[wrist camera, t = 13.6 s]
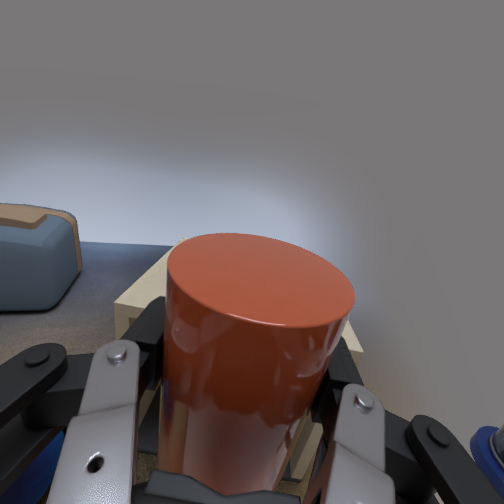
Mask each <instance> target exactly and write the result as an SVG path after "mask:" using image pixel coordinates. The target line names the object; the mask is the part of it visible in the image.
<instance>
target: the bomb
mask: <svg viewBox="0 0 504 504" xmlns="http://www.w3.org/2000/svg"><path fill="white" fill-rule="evenodd" d="M68 426H69V424H67V425H66V426H65V427H64V428H63V429H62V431H61V432H60V433H59V434H58V435H57V436H56V437H55V438H54V439H53V440H52V441H51V442H50V444H49V445H48V446H47V447H46V448H45V449H44V450H43V451H42V452H41V453H40V454H39V455H38V457H37V458H36V459H35V460H34V461H33V462H32V463H31V464H30V465H29V466H28V467H27V468H26V469H25V471H24V472H23V473H22V474H21V475H20V476H19V477H18V478H17V479H16V480H15V481H14V482H13V484H12V485H11V486H10V487H9V488H8V489H7V490H6V491H5V492H4V493H3V494H2V495H1V496H0V504H36V503H37V502H38V501H39V500H40V498H41V497H42V496H43V495H44V493H45V492H46V490H47V489H48V487H49V486H50V484H51V483H52V481H53V478H54V475H55V471H56V468H57V464H58V461H59V457H60V454H61V450H62V447H63V443H64V440H65V436H66V433H67V429H68Z"/></svg>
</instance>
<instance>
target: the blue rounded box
mask: <svg viewBox="0 0 504 504" xmlns="http://www.w3.org/2000/svg"><path fill="white" fill-rule="evenodd" d="M81 269H82V256H81V249H80V241H79V235H78V226H77V220H76V218H75V217H74V216H73V215H72V214H71V213H69V212H66V211H63V210H57V209H52V208H47V207H40V206H32V205H26V204H7V203H4V204H3V203H0V311H40V310H47V309H50V308H51V307H53V306H54V305H55V304H57V303H58V301H59V300H60V299H61V297H62V296H63V294H64V293H65V292H66V290H67V289H68V287H69V286H70V285H71V283H72V282H73V280H74V279H75V278H76V276H77V275H78V273H79V272H80V271H81Z"/></svg>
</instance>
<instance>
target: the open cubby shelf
mask: <svg viewBox="0 0 504 504" xmlns="http://www.w3.org/2000/svg"><path fill="white" fill-rule="evenodd" d="M186 240H188V239H186V238H182V239H181V240H180V241H179V242H178V243H177V244H176V245H175V246H174V247H173V248H171V249H170V250H169V251H168V252H167V253H166V254H165V255H164V256H163V257H162V258H161V259H160V260H159V261H158V262H156V263H155V264H154V265H153V266H152V267H151V268H150V269H149V270H148V271H147V272H146V273H145V274H144V275H143V276H142V277H140V278H139V279H138V280H137V281H136V282H135V283H134V284H133V285H132V286H131V287H130V288H129V289H128V290H127V291H125V292H124V293H123V294H122V295H121V296H120V297H119V298H118V299H117V300H116V301H115V302H114V314H115V340H120V338H121V337H122V336H123V335H124V333H125V332H126V331H127V330H128V328H129V327H130V326H131V325H132V324H133V322H134V321H135V320H136V319H137V317H138V316H140V314H141V313H142V311H143V310H145V308H146V306H147V305H148V304H149V303H150V302H151V301H152V300H154V299H156V298H157V297H159V296H164V297H165V292H166V272H167V260H168V257H169V255H170V253H171V251H172V250H173V249H174V248H175V247H176V246H177V245H179V244H180V243H182V242H184V241H186ZM342 337H343V338H344V339H345V341H346V343H347V346H348V348H349V349H348V350H349V351H350V353H351V355H352V358H353V360H354V363H355V365H356V367H357V365H358V362H359V360H360V358H361V357H362V355H363V350H362V348H361V346H360V344H359V342H358V340H357V338H356V336H355V334H354V331H353V329H352V327H351V325H350V323H349V321H348V320H347V323H346V325H345V328H344V330H343V332H342ZM160 390H161V379H160V381H159V383H158V385H157V387H156V389H155V391H150V390H145V392H144V394H143V396H142V398H141V400H140V408H139V431H138V451H140V452H145V453H150V454H155V455H157V449H158V429H159V409H160ZM322 433H323V428H322V424H319V423H314V422H312V419H311V413H310V412H309V414H308V416H307V419H306V421H305V424H304V426H303V428H302V431H301V433H300V436H299V438H298V440H297V443H296V445H295V448H294V450H293V452H292V455H291V457H290V460H289V462H288V464H287V467H286V469H285V472H284V474H283V476H282V479H283V480H288V481H294V482H299V483H300V482H301V479H302V478H303V476H304V473H305V471H306V469H307V467H308V465H309V463H310V461H311V459H312V457H313V455H314V453H315V451H316V449H317V447H318V445H319V441H320V438H321V435H322Z"/></svg>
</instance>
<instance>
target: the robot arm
mask: <svg viewBox="0 0 504 504" xmlns="http://www.w3.org/2000/svg"><path fill="white" fill-rule="evenodd" d="M164 311H165V297H164V296H159V297H157V298H156V299H154V300H152V301H151V302H150V303H149V304H148V305H147V306H146V308H145V310H143V311H142V313H141V314H140V316H138V317H137V319H136V320H135V321H134V322H133V324H132V325H131V326H130V327H129V328H128V330H127V331H126V332H125V333H124V335H123V336H122V337H121V338H120V340H115V341H112V342H109V343H107V344H105V345H103V346H102V347H100V348H99V349H98V350H97V351H96V353H91V354H79V355H67V353H66V349H65V348H64V347H63V346H62V345H60V344H56V343H45V344H40V345H36V346H33V347H30V348H28V349H26V350H24V351H22V352H21V353H19V354H17V355H16V356H14V357H13V358H11V359H10V360H8V361H7V362H5V363H4V364H2V365H1V366H0V496H1V495H2V494H3V493H4V492H5V491H6V490H7V489H8V488H9V487H10V486H11V485H12V484H13V482H14V481H15V480H16V479H17V478H18V477H19V476H20V475H21V474H22V473H23V472H24V471H25V469H26V468H27V467H28V466H29V465H30V464H31V463H32V462H33V461H34V460H35V459H36V458H37V457H38V455H39V454H40V453H41V452H42V451H43V450H44V449H45V448H46V447H47V446H48V445H49V444H50V442H51V441H52V440H53V439H54V438H55V437H56V436H57V435H58V434H59V433H60V432H61V431H62V429H63V428H64V427H65V426H66V425H67V424H69V426H68V429H67V433H66V436H65V440H64V443H63V447H62V450H61V454H60V457H59V461H58V464H57V468H56V471H55V475H54V478H53V482H52V485H51V489H50V492H49V496H48V500H47V503H46V504H301V500H300V496H295V495H290V494H284V493H279V492H274V491H269V490H259V491H253V492H247V493H241V494H235V495H227V496H226V495H222V494H220V493H219V492H217V491H215V490H213V489H212V488H210V487H208V486H206V485H205V484H203V483H201V482H200V481H198V480H196V479H194V478H193V477H191V476H189V475H184V474H179V473H174V472H168V471H163V470H158V469H152V472H151V475H150V477H149V480H148V482H143V483H139V484H137V454H138V431H139V408H140V400H141V398H142V396H143V394H144V392H145V390H150V391H155V389H156V387H157V385H158V383H159V381H160V379H161V370H162V351H163V331H164ZM348 349H349V348H348V346H347V343H346V341H345V339H344V338H343V337H342V335H341V337H340V340H339V342H338V344H337V347H336V349H335V352H334V354H333V356H332V359H331V361H330V364H329V366H328V368H327V371H326V373H325V376H324V378H323V380H322V383H321V385H320V388H319V390H318V392H317V395H316V397H315V400H314V402H313V404H312V407H311V409H310V413H311V419H312V422H314V423H319V424H322V428H323V433H322V435H321V438H320V441H319V445H318V449H317V453H316V457H315V461H314V465H313V469H312V473H311V477H310V481H309V484H308V488H307V492H306V495H305V498H304V501H303V503H302V504H439V502H438V501H437V499H436V497H435V495H434V494H435V493H436V492H438V494H439V496H440V497H441V499H442V501H443V502H444V504H504V499H503V497H502V496H501V495H500V494H499V492H498V491H497V490H496V489H495V487H494V486H493V485H492V483H491V482H490V481H489V480H488V478H487V477H486V476H485V474H484V473H483V472H482V471H481V469H480V468H479V467H478V465H477V464H476V463H475V462H474V461H473V459H472V458H471V457H470V455H469V454H468V453H467V451H466V450H465V449H464V448H463V446H462V445H461V444H460V443H459V441H458V440H457V439H456V437H455V436H454V435H453V434H452V433H451V432H450V431H449V430H448V429H447V428H446V427H445V426H443V425H442V424H441V423H440V422H438V421H436V420H434V419H433V418H430V417H428V416H425V415H416V416H415V417H414V418H413V419H412V421H411V422H409V421H407V420H405V419H403V418H401V417H399V416H396V415H394V414H392V413H390V412H388V411H387V410H385V409H384V407H383V404H382V403H381V401H380V400H379V398H378V397H377V396H376V395H375V394H374V393H373V392H372V391H370V390H369V389H367V388H366V387H364V385H363V382H362V380H361V378H360V375H359V372H358V370H357V367H356V365H355V363H354V360H353V358H352V355H351V353H350V351H349V350H348ZM488 446H489V450H490V452H491V454H492V456H493V458H494V460H495V461H496V463H497V464H498V466H499V467H500V468H501V470H502V471H503V472H504V424H503V425H502V426H501V427H500V428H499V429H498V431H497V432H495V433H493V434H492V435H491V436H490V438H489V439H488Z"/></svg>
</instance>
